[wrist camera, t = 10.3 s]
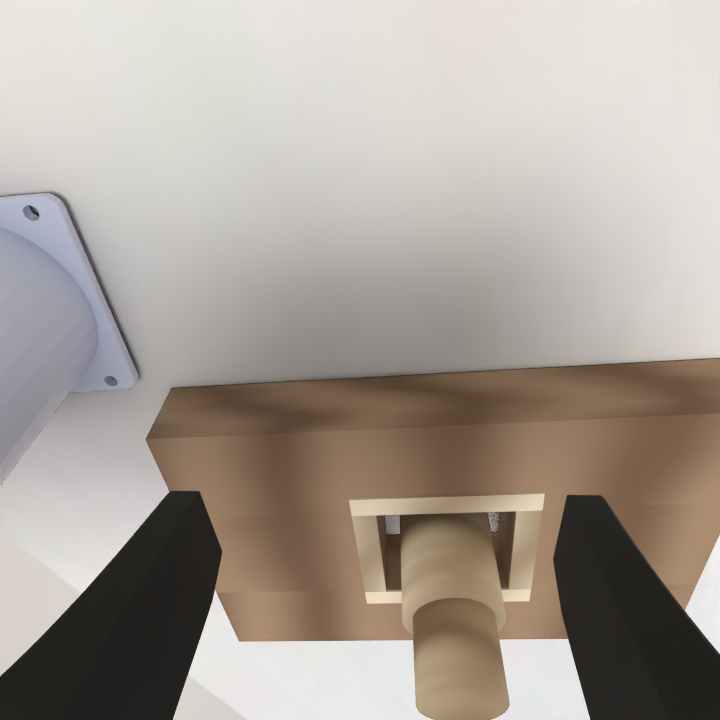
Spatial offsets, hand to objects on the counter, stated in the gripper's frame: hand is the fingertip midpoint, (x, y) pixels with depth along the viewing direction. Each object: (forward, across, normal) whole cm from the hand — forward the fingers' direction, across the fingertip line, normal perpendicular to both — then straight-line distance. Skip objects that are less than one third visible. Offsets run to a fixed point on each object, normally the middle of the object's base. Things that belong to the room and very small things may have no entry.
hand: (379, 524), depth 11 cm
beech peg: (+10, -2, +12) cm, 16 cm away
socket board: (+10, -2, +12) cm, 16 cm away
